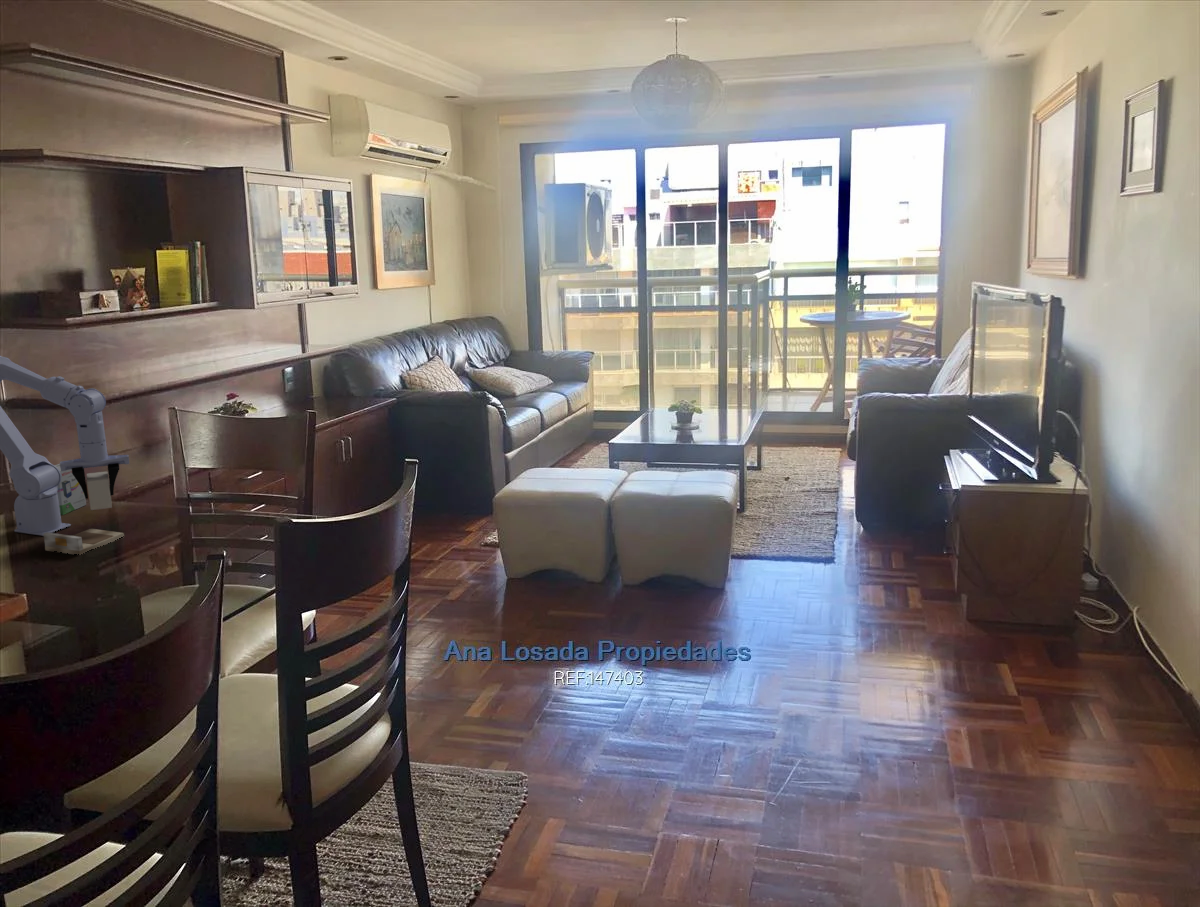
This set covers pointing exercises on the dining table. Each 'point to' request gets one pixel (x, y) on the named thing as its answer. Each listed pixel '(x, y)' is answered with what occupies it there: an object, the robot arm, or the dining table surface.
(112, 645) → the dining table surface
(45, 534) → the cream tray
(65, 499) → the ink box
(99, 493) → the carton
